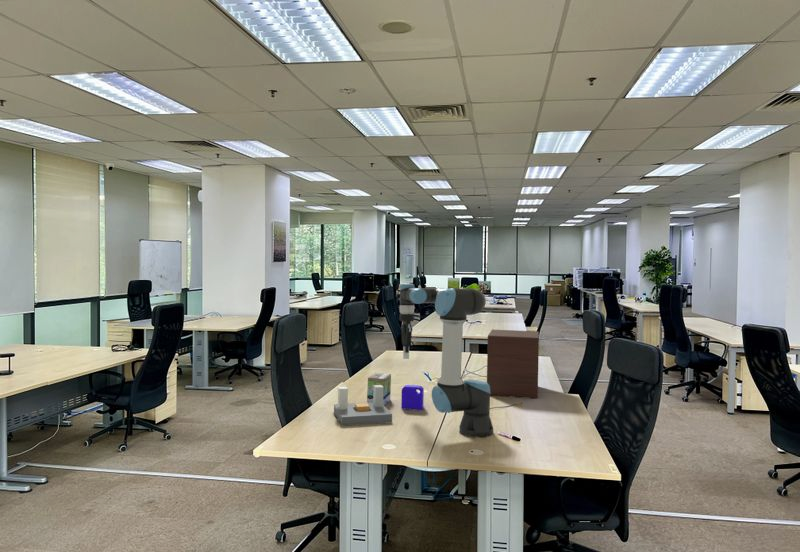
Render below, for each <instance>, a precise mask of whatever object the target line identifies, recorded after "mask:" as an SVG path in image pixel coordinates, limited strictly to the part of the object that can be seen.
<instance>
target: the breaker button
mask: <svg viewBox="0 0 800 552" xmlns="http://www.w3.org/2000/svg"><path fill="white" fill-rule="evenodd" d="M359 403H360V404H355V411H356V412H358V411H370V406H369V405H368V404H367V402H359Z"/></svg>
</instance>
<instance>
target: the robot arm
mask: <svg viewBox="0 0 800 552" xmlns="http://www.w3.org/2000/svg"><path fill="white" fill-rule="evenodd" d="M399 287H400V288H399V313H400V314H399V321H400V322H402V324H401V326H400V329H401V344H402V349H403V351H402V352H403V353H402V354H403V355H402V358H403V359H404V360H409V359H410V346H411V345H412V344H411V343H412V333H413V327H412V323H411V322H414V321H415V314H414V313H415V309H416V307H415V304H416V305H417V304H419V305H420V304H434V308H435V313H436V315H438V316H439V320H440V322H442V344H441V346H442V347H441V365H440V366H441V368H440V369H441V372H440V373H441V374H440V377H439V378H438V379H437V385H434V386H433V387H432V390H431V400H432V403H433V406H434V407H435V409H436V410H437V412H439V413H441V414H442V413H448V414H450V413H456V412H463V415H462V418H461V421H460V424H459V427H458V428H459V433H460V434H461V435H464V436H466V437H471V438H472V437H473V438H487V437H491V436H492V435H494V427H493V423H492V419H491V415H490V412H491V409H490V408H491V407H490V405H491V404H490V403H491V401H490V400H491V395H490V386H489V384H488V383H487V381H482V380H478V379H471V378H470V379H469V378H468V379H467V378H466V379H464V380H463V379H462V356H463V355H462V353H463V329H464V327H463V326H464V323H466V322H467V318H468V317H467V316H472V315H473V316H474V315H477V314H479V313H481V312H482V311H484V309H485V307H486V303H487V300H486V297H485V295H484V293H483V292H482V291H480V290H479V289H476V288H452V287H451V288H445V287H438V288H436V287H434V288H433V287H432V288H431V287H429V288H425V287H424V288H423V287H422V288H421V287H415V284H413V283H401V284H400V286H399Z"/></svg>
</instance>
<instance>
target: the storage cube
mask: <svg viewBox="0 0 800 552" xmlns="http://www.w3.org/2000/svg"><path fill="white" fill-rule="evenodd" d="M539 335H540V333H539V331H536V330H535V331H532V330H531V331H530V330H512V329H511V330H510V329H509V330H508V329H491V330H490V332H489V333H488V335H487V352H486V353H487V355H486V357H487V360H486V383H488V384H489V386H490V396H496V397H508V396H512V397H513V396H514V397H513V398H521V397H529V398H528V399H535V398H539V358H540V357H539V355H540V354H539V353H540V352H539V351H540V350H539V348H540V347H539V346H540V341H539V340H540V336H539ZM512 397H511V398H512Z"/></svg>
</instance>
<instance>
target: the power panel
mask: <svg viewBox="0 0 800 552" xmlns="http://www.w3.org/2000/svg"><path fill="white" fill-rule="evenodd" d="M360 403H361V402H355V403H354V402H352V403H350V402H349V403H348V409H340V410H339V408H338V403H336V404H335V403H334V404H333V413H334V415H335V416H336V418H337V420H338V422H339V423H340V425H341V426H342V427H344V426H358V425H359V426H360V425H361V426H362V425H376V424H375V423H377V424H387V423H386V422H392V423H393V413H392V412H391V411H390V410H389V409H388V408H387V407H386V406H385V405H383V407H376V408H375V406H374V405H373V402H368V403H367V402H366V403H367V404H368V405H369V406H370V411H358V412H356V411H355V404H360Z"/></svg>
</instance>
